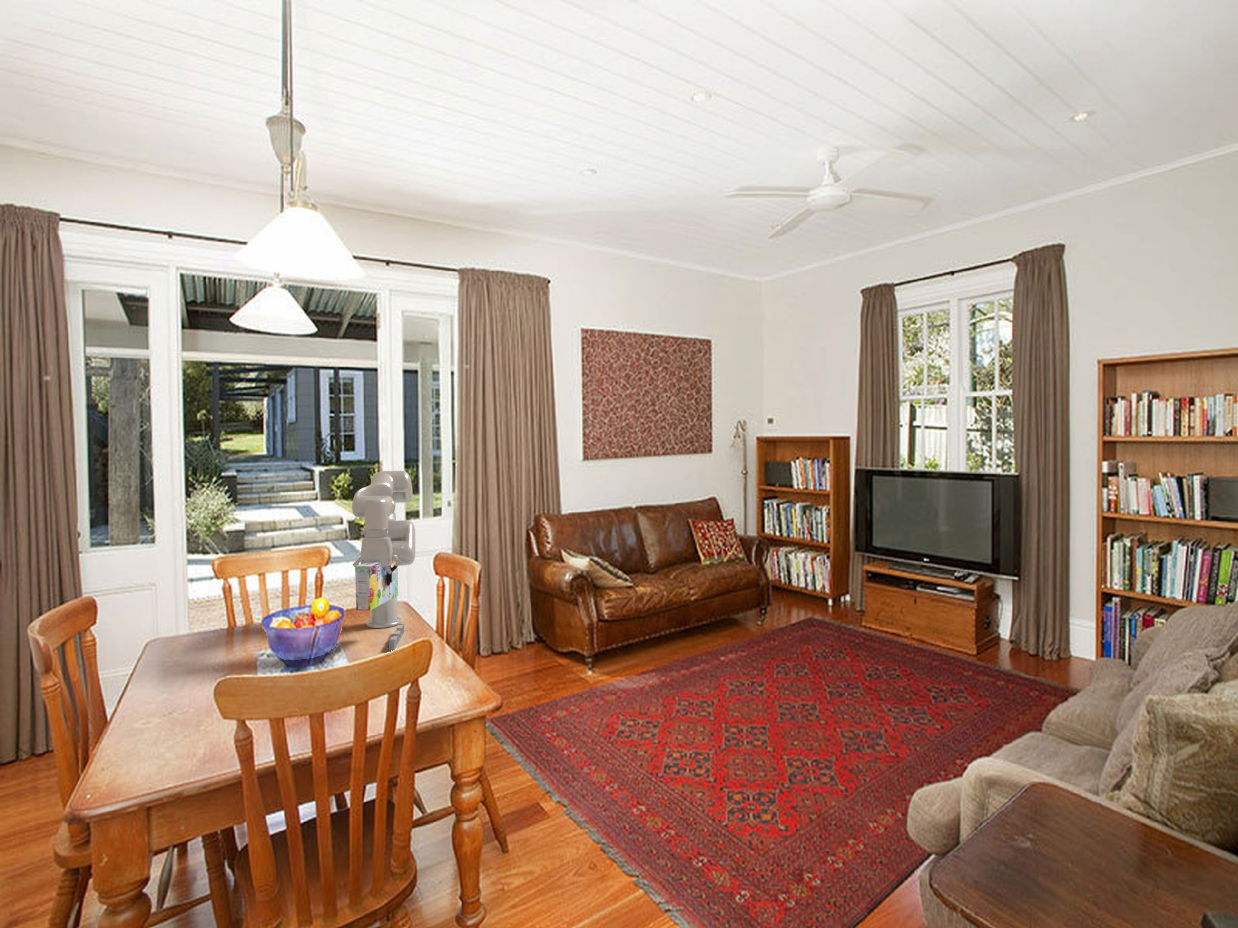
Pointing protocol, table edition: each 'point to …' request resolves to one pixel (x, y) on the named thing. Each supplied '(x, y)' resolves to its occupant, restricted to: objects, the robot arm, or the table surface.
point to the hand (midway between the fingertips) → (377, 584)
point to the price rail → (396, 637)
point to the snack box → (374, 585)
